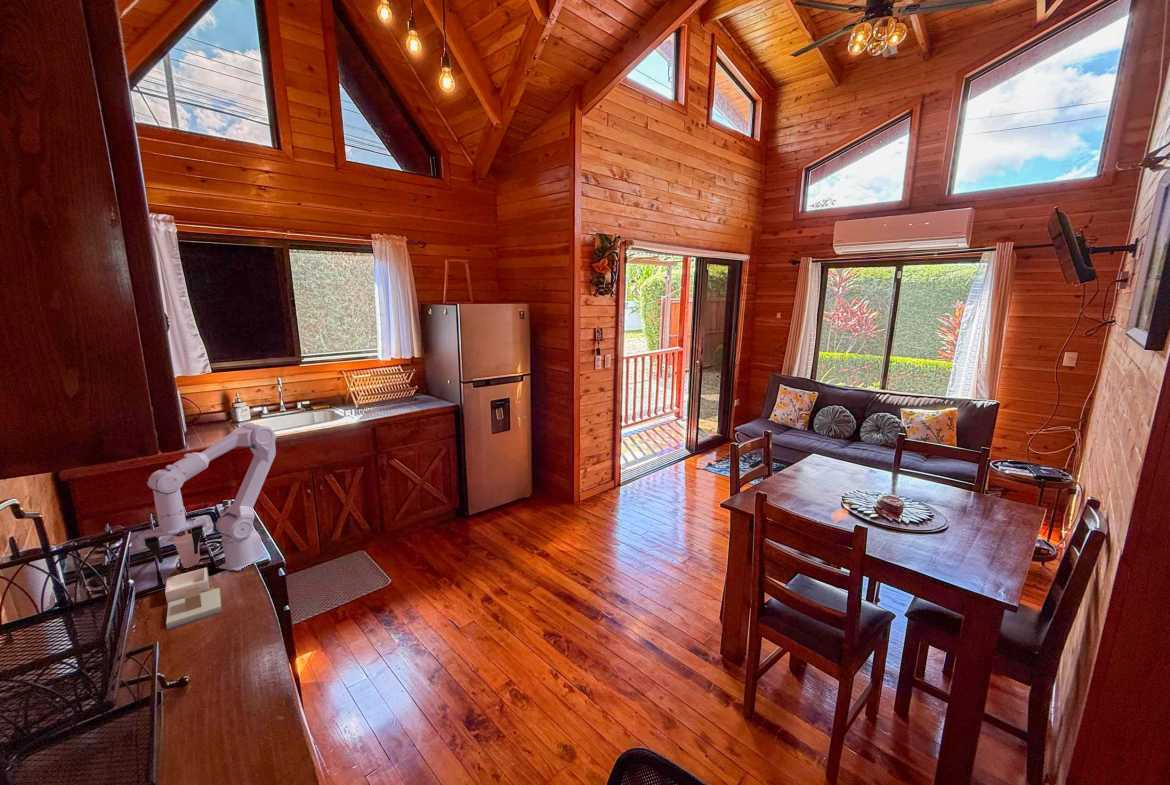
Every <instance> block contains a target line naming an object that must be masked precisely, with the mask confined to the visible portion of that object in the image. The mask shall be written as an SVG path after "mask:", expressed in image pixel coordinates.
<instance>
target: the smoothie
mask: <svg viewBox="0 0 1170 785" xmlns="http://www.w3.org/2000/svg"><path fill="white" fill-rule="evenodd" d="M201 538H202V537H200V539H201ZM173 546H175V548H176V550H177V553H178V556H179V558H180V561H181V564H182V566H183V569H184V568H189V567H192V566H194V565H195V564H197V563H198V562H199V560H200V543H199V544H198V554H195V553H194V543H193V538H192V533H188V531H184V535H181V536H179V537H177V538H175V539H174V540H173Z"/></svg>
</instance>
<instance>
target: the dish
mask: <svg viewBox="0 0 1170 785" xmlns="http://www.w3.org/2000/svg"><path fill="white" fill-rule="evenodd" d="M199 586H200V592H201V593H203V592H206V591H210V577H209V571H208V567H207V566H206V567H203V568H198V569H196V570H190V571H188V572H184V573H180V574H177V575H174V576H173V575H172V576H169V577H166V583H165V591H164V593H165V595H164V596H165V598H166V604H167V605H168V603H169V602H173V601H176V600H179V599H183V598H185V590H188V589H192V588H195V587H199Z"/></svg>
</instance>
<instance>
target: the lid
mask: <svg viewBox="0 0 1170 785" xmlns="http://www.w3.org/2000/svg"><path fill="white" fill-rule="evenodd" d="M220 596H221V588H220V587H217V588H214V589H213V588H212V589H209V591H206V592H203V593H201V592H200V586H199V587H195V588H192V589H188V590H185V598H183V599H179V600H176V601H173V602H169V603H168V604H167V613H166V622H165V624H166V627H167V626H170V625H173V624H176V623H179V622H182V621H185V620H188V619H192V618H195V617H198V616H201V615H204V614H207V613H210V612H214V611H217V610H220V609H221V610H222V598H220Z"/></svg>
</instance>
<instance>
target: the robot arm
mask: <svg viewBox="0 0 1170 785" xmlns="http://www.w3.org/2000/svg"><path fill="white" fill-rule="evenodd" d="M277 438H278V437H277V435H276V433H275V432H274V430H273V429H272V428H271V427H269V426H265V425H260V424H256V423H254V422H253V423H252V422H248V423H245V424H243V425H241V426H240V427H237V428H234V429H233V430H232V431H231V432H230V433H228V434H227V435H226V436H224V437H223V438H221V439H220V440H218V441H216V442H214V444H212V445H211V446H209V447H207V448H206V449H204V450H203V451H201V452H194V451H193V452H191V453H188V452H187V453H185V454H184V455H183V457H182V458H181V459H179V460H178V461H175V462H174V463H172V464H167V465H166V466H165V469H158V470H156V471H154V472H152V473H151V474H150V476H149V477H148V479H147V480H148V481H147V482H146V485H147V487H148V488H150V489H151V490H152V493H153V497H154V507H155V510H156V511H155V512H156V515H157V521H158V526H159V527H156V528H154V529H151V530H147V531H144V532H140V533H138V536H137V537H138V541H139V543H143V542H144V545H145V546H146V548H147V549H149V550H150V551H151V553H153V555H154V556H155V558H156V559H157V562H158V563H159V564H162V563H163V561H164V558H163V554H162V550H161V547H160V546H161V545H160V539H159V538H161V537H165V536H170V535H171V536H172V535H176V534H178V533H182V532H185V531H187V532H188V531H191V534H192V538H193V543H194V553H195V554H198V544H199V545H200V540H201V538H202V537H201V536H202V535H203V532H204V531H203V530H204V528H208V522H207V518H202V519H196V520H195V519H193V520H187V517H186V514H185V508H184V502H183V497H182V496H183V495H182V492H181V488H182V487H183V485H184V483H185V482H187V481H188V480H190V479H191V478H193V477H194V476H196V475H198V474H199V473H201V472H203V471H204V470H206V469H208V468H209V464H210V462H211V461H213V460H214V459H215V460H216V458H218V457H220V456H223V455H224V454H226V453H228V452H230V451H232V450H233V449H235V448H237V447H248V448H249V449H250V451H251V452H252V454H253V458H252V459H251V462H250V465H249V466H248V468H247V471H246V474H245V475H244V478H243V480H242V482H241V485H240V487H239V489H238V491H237V493H236V496H235V498H234V501H233V503H232V504H231V505H229V506H228V507H227V508H225V510H224V512H223V514H222V515H221V516H220V517H219V518H218V519H217V521H216V523H215V529H216V530H217V532H218V533H220V534H221V543H222V544H221V545H222V548H223V549H222V550H223V555H224V561H225V563H222V564H220V565H219V566H218V569H221V570H229V571H236V572H240V571H242V570H243V569H245V568H247V567H249V566H250V565H252V564H254V563H255V562H257V561H259V560H261V559H263V558H264V557H266V554H265V553H264V551H263V542H262V537H261V535H260V533H259V532H258V531H257V530H255V529H254V521H255V520H254V519H255V517H256V516H255V513H254V506H255V504H256V502H257V499H258V497H259V495H260V492H261V490H262V487H263V486H264V483H265V480H266V478H267V476H268V473H269V471H270V469H271V466H272V464H273V462H274V459H275V458H276V454H277V451H276V450H277V449H276V439H277ZM200 537H201V538H200ZM248 565H249V566H248ZM246 566H247V567H246ZM244 567H245V568H244ZM242 568H243V569H242ZM241 569H242V570H241ZM239 570H240V571H239Z"/></svg>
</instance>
